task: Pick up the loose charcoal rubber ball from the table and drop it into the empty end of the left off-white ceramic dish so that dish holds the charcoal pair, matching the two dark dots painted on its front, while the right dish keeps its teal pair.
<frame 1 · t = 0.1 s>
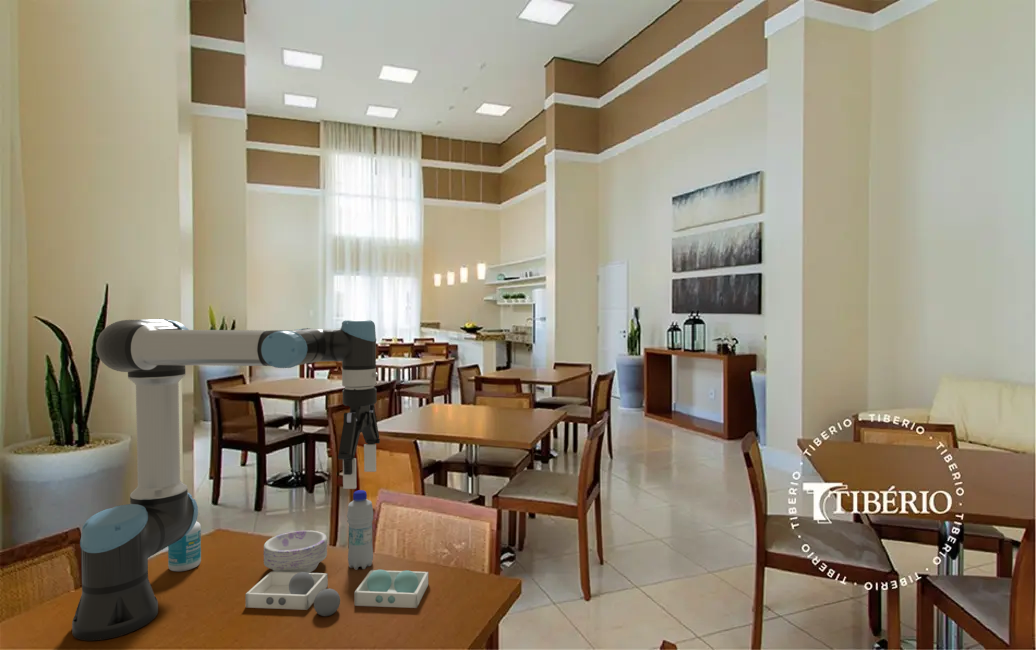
hand: (360, 479, 133), 28 cm above the table, fingers open, 13 cm apart
dish left: (288, 598, 134), on the table
bottle: (360, 567, 151), on the table
dish right: (392, 596, 135), on the table
ball teal 2: (406, 594, 135), resting on dish right
ball charcoal 2: (327, 614, 127), on the table
ball teal 1: (379, 593, 135), resting on dish right
pill bottle: (185, 567, 152), on the table
ball charcoal 1: (301, 596, 134), resting on dish left
paper bowls: (296, 570, 149), on the table
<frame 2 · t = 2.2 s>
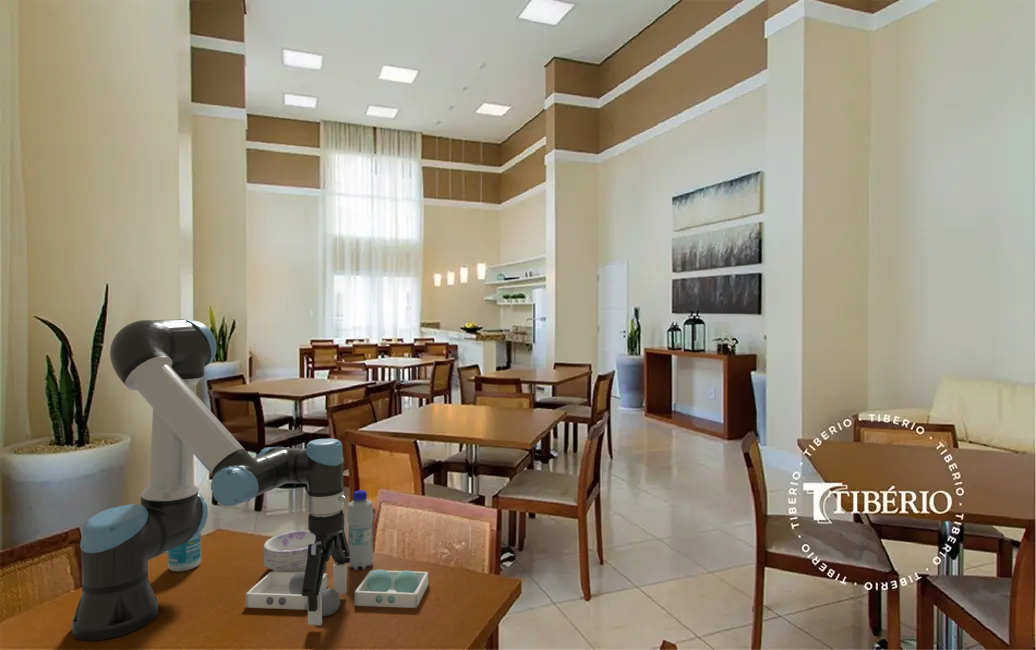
hand: (328, 607, 127), 2 cm above the table, fingers open, 13 cm apart
nothing on the table moved.
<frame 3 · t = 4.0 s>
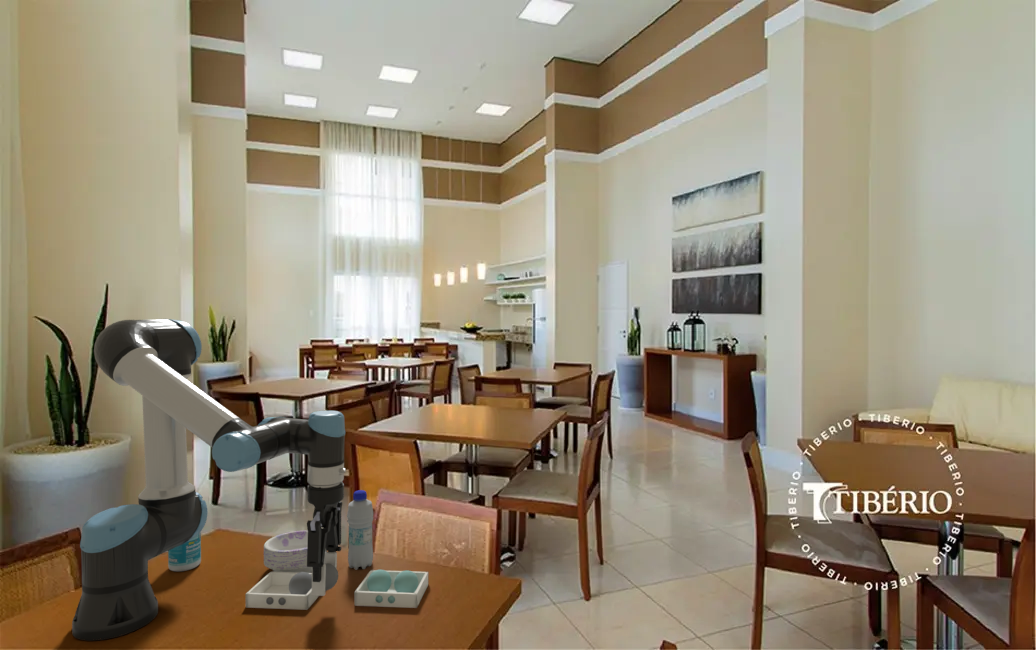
hand: (324, 587, 127), 6 cm above the table, fingers closed on ball charcoal 2, 5 cm apart
ball charcoal 2: (325, 589, 127), point 6 cm above the table, touching gripper
everything else where it was.
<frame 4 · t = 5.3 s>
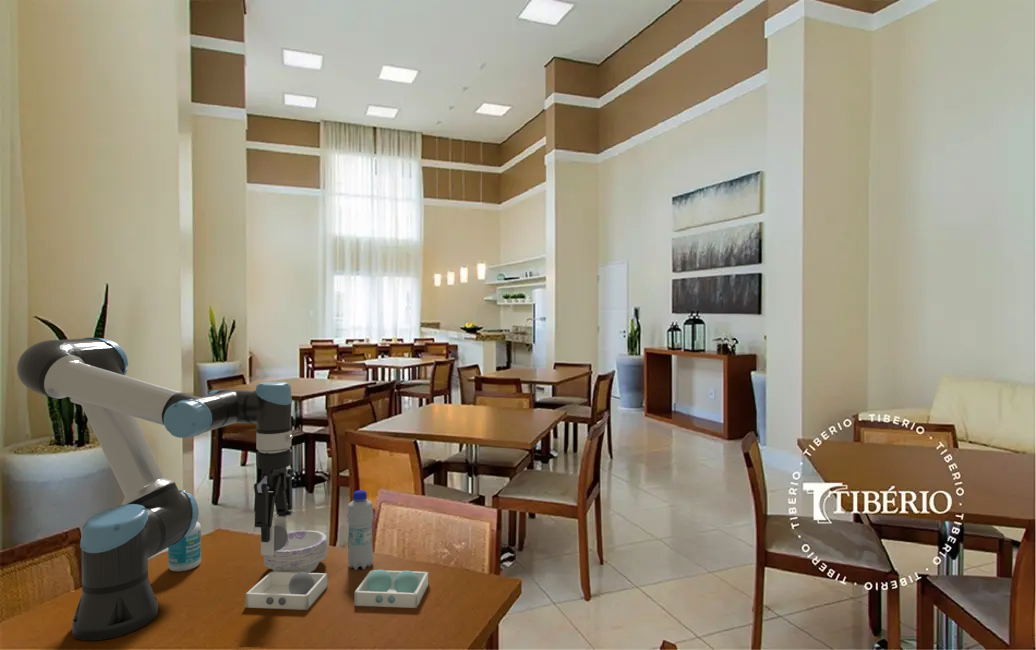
hand: (274, 548, 134), 12 cm above the table, fingers closed on ball charcoal 2, 5 cm apart
ball charcoal 2: (275, 550, 134), point 11 cm above the table, touching gripper
everything else where it was.
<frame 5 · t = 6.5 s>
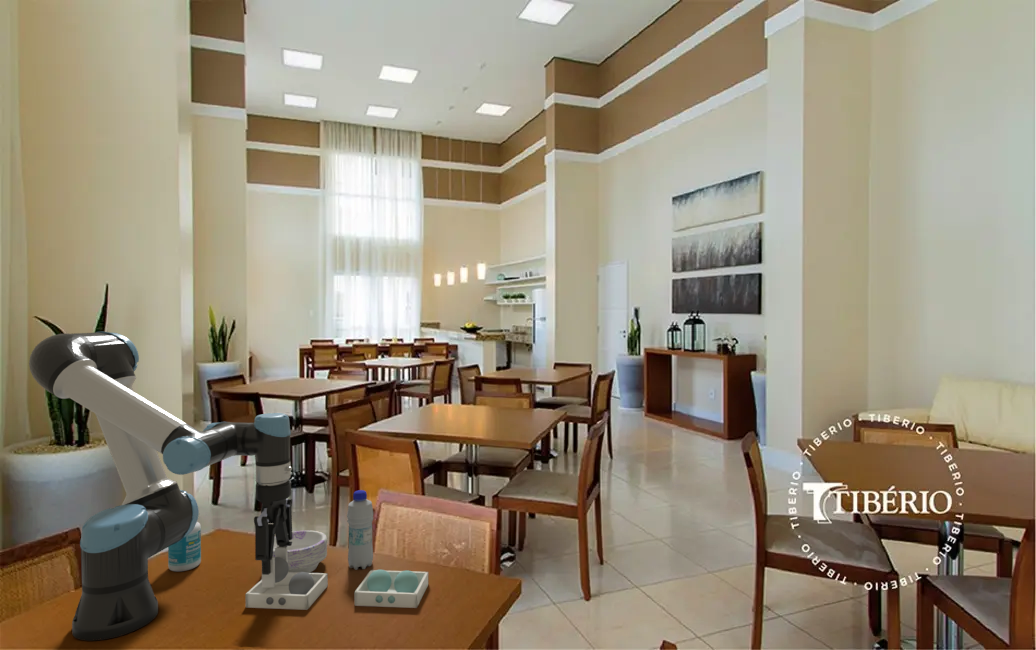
hand: (275, 580, 135), 4 cm above the table, fingers closed on ball charcoal 2, 5 cm apart
ball charcoal 2: (276, 581, 135), point 4 cm above the table, touching gripper
everything else where it was.
when the fingers open (4 cm above the table, at t = 6.8 s): ball charcoal 2 drops 3 cm, resting on dish left.
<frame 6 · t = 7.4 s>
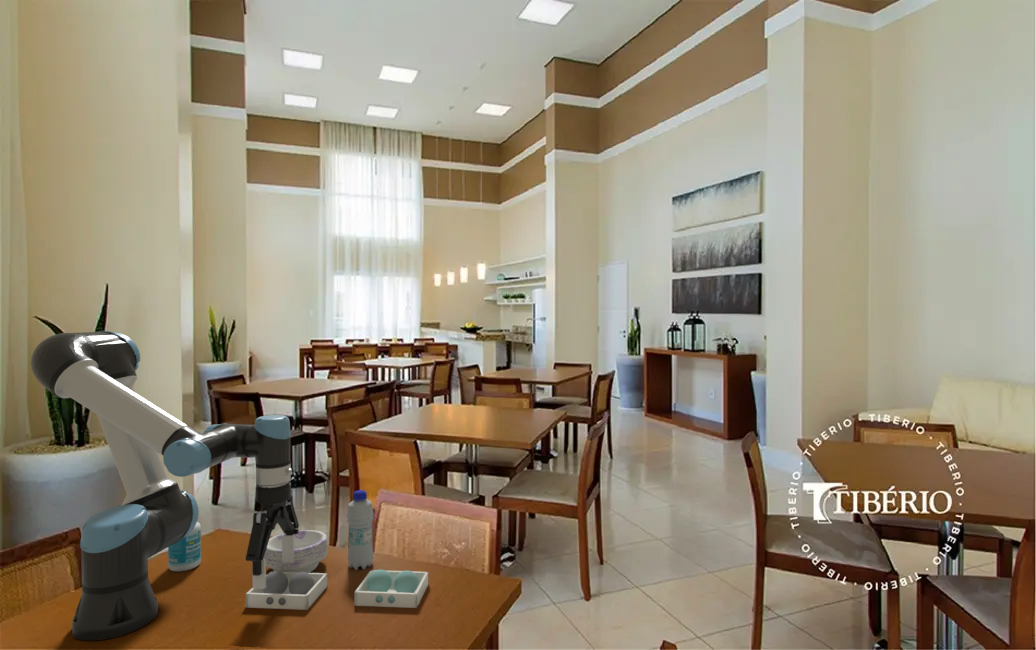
hand: (274, 574, 134), 5 cm above the table, fingers open, 13 cm apart
ball charcoal 2: (275, 595, 135), resting on dish left
paper bowls: (296, 570, 149), on the table, touching gripper
everything else where it was.
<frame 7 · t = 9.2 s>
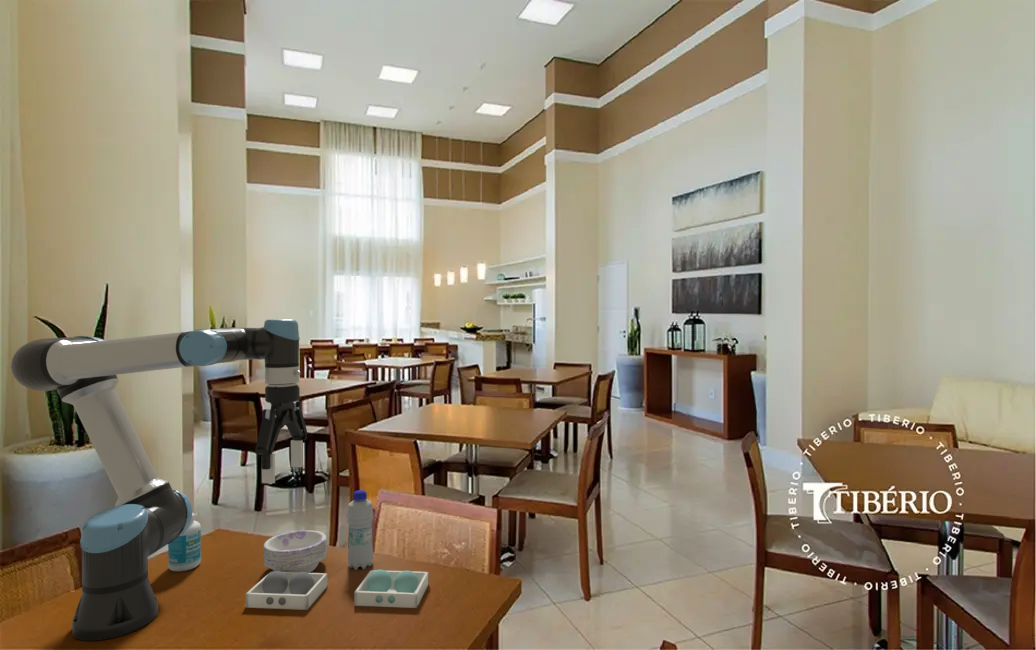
hand: (283, 474, 137), 28 cm above the table, fingers open, 13 cm apart
paper bowls: (295, 570, 149), on the table
everything else where it was.
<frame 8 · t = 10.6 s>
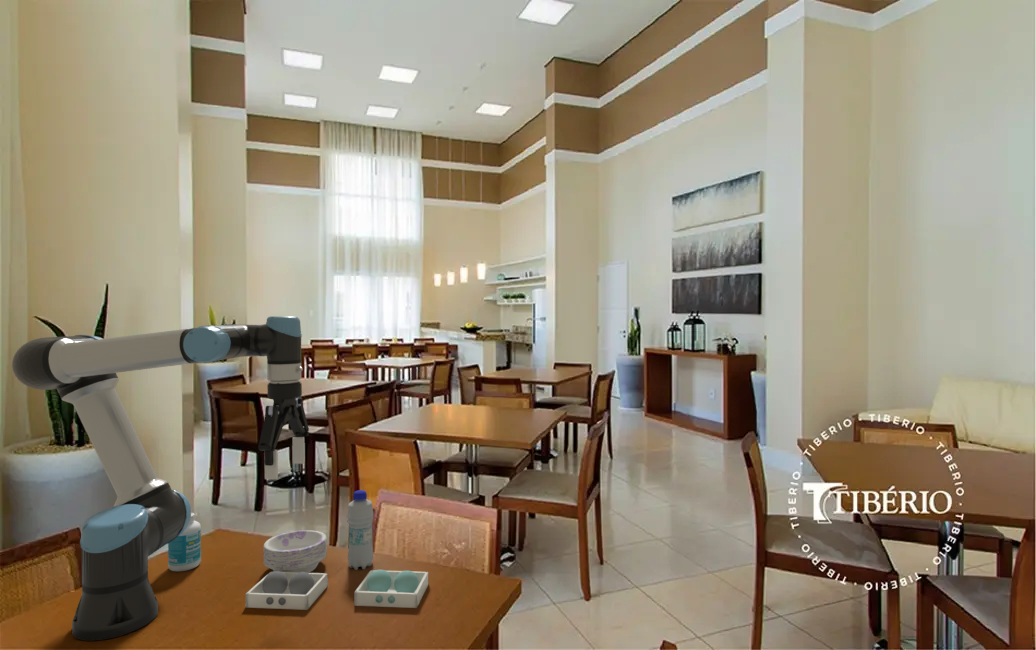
hand: (285, 470, 137), 29 cm above the table, fingers open, 13 cm apart
nothing on the table moved.
at the end: ball charcoal 2 inside the target area on the dish left (3.0 cm from its centre), point 0.5 cm above the dish left's base; ball charcoal 1 inside the target area on the dish left (3.2 cm from its centre), point 0.5 cm above the dish left's base; the gripper is holding nothing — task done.
